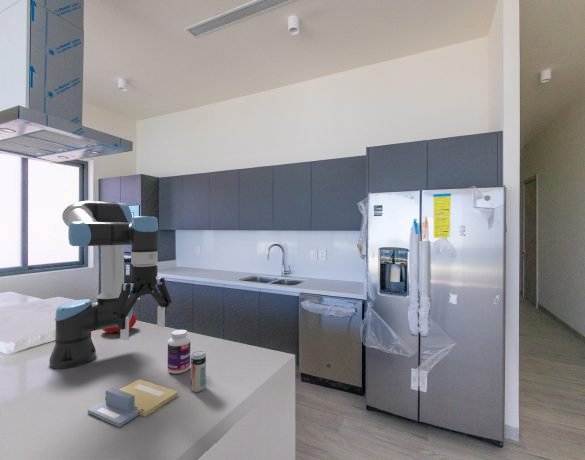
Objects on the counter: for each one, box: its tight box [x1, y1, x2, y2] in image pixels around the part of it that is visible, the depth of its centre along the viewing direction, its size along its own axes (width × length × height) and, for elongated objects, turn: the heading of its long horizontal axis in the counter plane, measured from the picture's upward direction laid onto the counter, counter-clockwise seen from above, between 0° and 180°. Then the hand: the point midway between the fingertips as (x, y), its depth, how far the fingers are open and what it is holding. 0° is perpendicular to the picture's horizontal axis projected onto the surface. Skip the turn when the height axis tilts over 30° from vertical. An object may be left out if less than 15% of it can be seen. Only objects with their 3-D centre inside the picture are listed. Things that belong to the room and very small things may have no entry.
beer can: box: [190, 350, 207, 393], centre depth 100 cm, size 5×5×12 cm
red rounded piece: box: [101, 312, 137, 334], centre depth 154 cm, size 14×16×10 cm
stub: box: [87, 387, 139, 428], centre depth 86 cm, size 14×6×5 cm, turn 65°
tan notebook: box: [104, 379, 179, 418], centre depth 94 cm, size 18×12×1 cm, turn 65°
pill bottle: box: [167, 329, 191, 375], centre depth 113 cm, size 8×8×14 cm
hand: (144, 332), depth 95 cm, fingers open, 12 cm apart
